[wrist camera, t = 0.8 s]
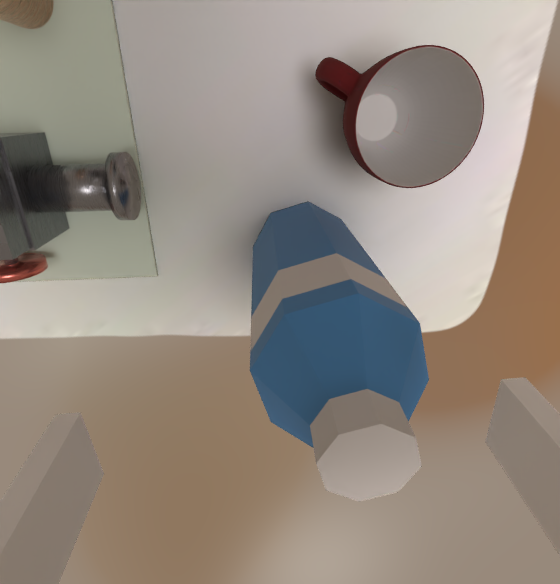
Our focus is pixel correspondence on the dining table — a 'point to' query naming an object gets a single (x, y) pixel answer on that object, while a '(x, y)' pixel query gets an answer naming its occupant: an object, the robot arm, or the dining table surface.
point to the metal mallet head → (53, 198)
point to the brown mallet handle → (26, 12)
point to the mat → (77, 129)
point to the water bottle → (335, 352)
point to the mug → (408, 113)
